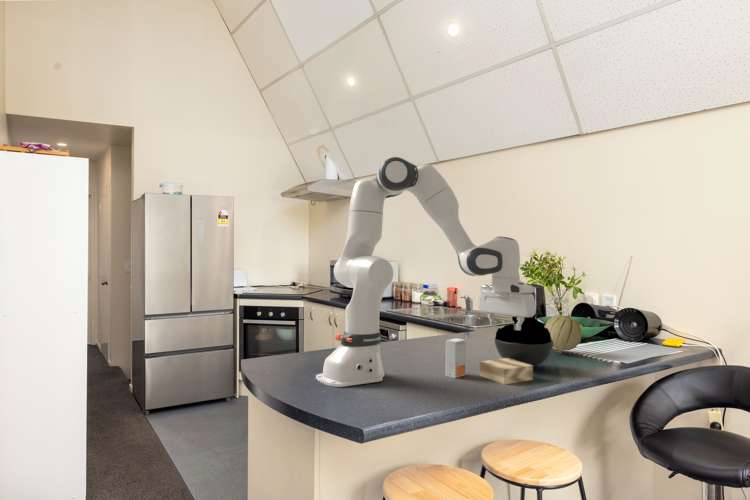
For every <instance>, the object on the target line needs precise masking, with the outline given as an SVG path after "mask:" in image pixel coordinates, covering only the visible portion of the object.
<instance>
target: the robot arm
mask: <svg viewBox="0 0 750 500" xmlns="http://www.w3.org/2000/svg"><path fill="white" fill-rule="evenodd" d="M405 191H407V192H409V193H411V194H413V195H414V197H416V199H417V200H418V203H419V204H420V205H421V206H422V208H423V209H424V210H425V213H426V214H427V215H428V216H429V217H430V218H431V219H432V220H433V222H434V223H436V225H438V227H439V228H440V229H441V230H442V231H443V233H444V234H445V236H446V237H447V239H448V241H449V243H450V244H451V245H452V247H453V248H454V250H455V253H456V255H457V259H458V261H457V262H458V265H459V267H460V270H461V271H462V272H463V273H464V274H466V275H467V276H471V277H472V276H473V277H475V276H477V277H484V276H487V275H491V284H490V285H489V284H483V285H482V286H481V287H480V289H479V297H478V310H479V312H480V313H481V312H483V313H487V315H486V316H487V318H488V320H489V325H490V327H497V325H498V324H497V323H498V321H497V320H495V317H494V316H495V315H496V314H498V315H506V316H512V317H514V316H515V317H517V320H518V322H517V324H515V323H514V324H515V325H514V330H518V331H519V330H521V324H522V323H523V321H524V317H533V316H534V314H536V300H535V299H536V298H535V296H534V294H533V293H534V291H535V290H534V286H532V285H530V284H528V283H526V282H523V281H522V280H520V279H521V277H520V273H519V269H520V265H521V253H520V251H521V250H520V244H519V242H518V241H517V240H516V239H515V238H511V237H508V236H495V237H494V238H492V240H490V241H487V242H486V243H484V244H481V245H478V246H477V245H476V244H474V242H473V241H472V239H470V237H469V235H468V234H467V232H466V230H465V228H464V227H463V225H462V224H461V221H460V218H459V216H460V215H459V208H460V207H459V206H460V204H459V202H458V199H457V196H456V195H455V193H454V190H452V188H451V186H450V185H449V183H448V182H447V180H446V179H445V178H444V177H443V176H442V175H441V173H440V172H439V171H438V170H437V169H436V168H435V167H434V166H433V165H431V164H429V163H423V164H419V165H417V166H416V165H415V164H414V163H411V162H409V161H408V160H406V159H405V158H402V157H397V156H392V157H389V158H387V159H385V160H384V161H383V162H382V163H381V165H380V166H379V168H378V170H377V172H376V175H375V176H374V177H373V178H371V179H370V178H364V179H360V180H357V181H356V182H355V184H354V186H353V189H352V192H351V197H350V201H349V202H350V203H349V209H348V210H349V211H348V213H349V214H348V224H347V236H346V241H345V243H344V246H343V249H342V252H341V255H340V257H339V259H338V260H337V261H336V263H335V264H334V266H333V276H334V279H335V280H336V282H338V283H339V284H341V285H342V286H345V287H346V288H351V289H353V290H352V291H353V292H352V295H351V299H350V301H349V303H348V304H347V305H346V307H345V316H344V317H345V321H344V322H345V326H344V327H345V328H344V329H345V331H344V332H343V334H339V333H335V335H334V340H335V341H339V342H340V345H338V347H337V348H336V349H334V350H333V351H332V353H330V354H329V355H328V356H326V357H325V359H324V363H323V366H322V367H323V369H322V373H317V374H315V380H316V379H317V380H318V381H317V380H316V381H317V382H319V381H320V382H319V383H321V382H322V383H321V384H323V383H324V384H323V385H326V386H330V387H334V388H344V387H350V386H357V385H363V384H371V383H378V382H382V381H383V378H384V377H385V372H384V368H383V367H384V366H383V362H382V358H381V357H382V355H381V349H380V348H381V342H382V339H381V338H382V336H381V335H382V334H381V333H382V332H381V331H380V313H381V304H382V299H383V297H384V293H385V291H386V290H387V288H388V287H389V286H390V284H391V283H392V281H393V278H394V269H393V266H392V264H391V263H390V261H388V260H387V259H384V258H382V257H380V256H377V255H373V253H374V250H375V247H376V246H377V244H378V243H379V242H380V241H381V239H382V234H383V233H382V232H383V220H384V219H383V218H384V217H383V216H384V203H385V200H386V199H390V198H393V197H397V196H399V195H401V194H402V193H403V192H405Z"/></svg>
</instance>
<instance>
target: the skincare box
mask: <svg viewBox="0 0 750 500" xmlns="http://www.w3.org/2000/svg"><path fill="white" fill-rule="evenodd" d="M466 343H467V341H466V339H463V338H458V337H457V338H456V337H455V338H451V339H446V340H445V353H444V355H445V356H444V357H445V362H444V363H445V365H444V367H445V368H444V372H445V373H444V374H445V377H447V378H453V379H456V378H460V377H463V376H466V370H467V368H466V361H467V360H466V358H467V357H466V356H467V355H466V351H467V349H466V348H467V347H466V345H467V344H466Z"/></svg>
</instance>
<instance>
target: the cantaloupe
mask: <svg viewBox="0 0 750 500" xmlns="http://www.w3.org/2000/svg"><path fill="white" fill-rule="evenodd" d="M544 327H545V328H547V329H548V330H549V332H550V334H551V340H553V347H552V348H553V349H555V350H557V351H571V350H573V349H575V348H577V347H578V345H579V344H580V343H581V340H582V335H583V334H582V333H583V331H582V328H581V325H580V324H579V322H578V321H577V320H576V319H574V318H573V317H571V314H570V313H568V314H567V315H564V314H557V315H554V316H552V317H550V318H549V320H547V322H546V323H545V325H544Z"/></svg>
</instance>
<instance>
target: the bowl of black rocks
mask: <svg viewBox="0 0 750 500" xmlns="http://www.w3.org/2000/svg"><path fill="white" fill-rule="evenodd" d="M536 316H537V313H535V314H534V316H533V317H524V321H523V323H522V324H521V330H519V331H518V330H514V325H515V324H517V322H518V320H517V316H512V317H511V320H512V322H513V323H510V324H509V323H508V324H505V325H504V326H502V327H498V328H497V329H496V333H495V337H494V344H495V348H496V350H497V352H498V354H499V356H500V357H501V359H502V358H510V359H513V360H517V361H520V362H523V363H527V364H530V365H533V368H534V367H537V366H540V365H541V364H543V363H544V362H545V361H546V360H547V359H548V358H549V356H550V355H551V353H552V350H553V348H554V347H553V340H551V334H550V332H549V330H548V329H547V328H545V325H544V323H543V322H541V321H539V320H537V319H536Z"/></svg>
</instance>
